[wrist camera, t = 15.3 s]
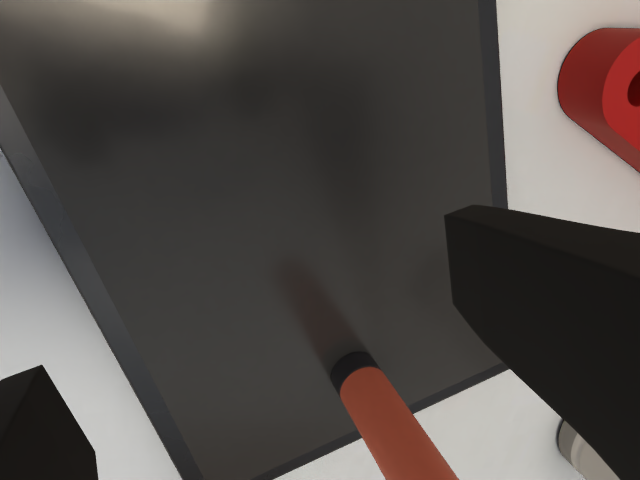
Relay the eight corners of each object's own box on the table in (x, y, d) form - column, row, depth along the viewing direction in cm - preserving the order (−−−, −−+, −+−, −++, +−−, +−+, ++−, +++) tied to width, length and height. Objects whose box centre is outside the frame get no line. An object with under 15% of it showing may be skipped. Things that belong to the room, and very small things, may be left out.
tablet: (198, 500, 24) (201, 516, 23) (-107, -61, 13) (-119, -64, 12) (508, 357, 27) (519, 367, 26) (471, -192, 16) (488, -200, 15)
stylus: (328, 394, 22) (442, 606, 15) (332, 355, 22) (455, 557, 14) (372, 387, 23) (501, 585, 15) (377, 348, 22) (517, 538, 15)
